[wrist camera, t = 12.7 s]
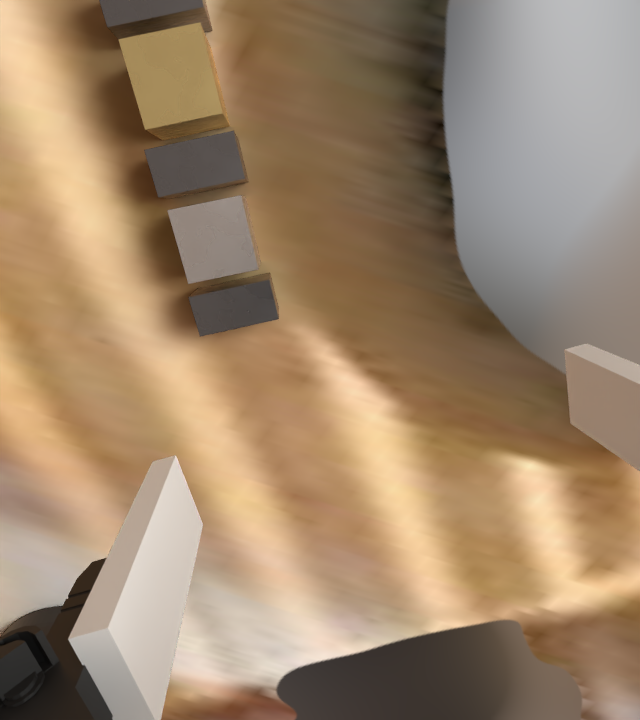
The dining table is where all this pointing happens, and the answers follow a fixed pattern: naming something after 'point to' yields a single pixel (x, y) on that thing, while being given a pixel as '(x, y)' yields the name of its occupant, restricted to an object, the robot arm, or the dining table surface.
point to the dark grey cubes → (197, 170)
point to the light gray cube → (215, 238)
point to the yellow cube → (175, 81)
